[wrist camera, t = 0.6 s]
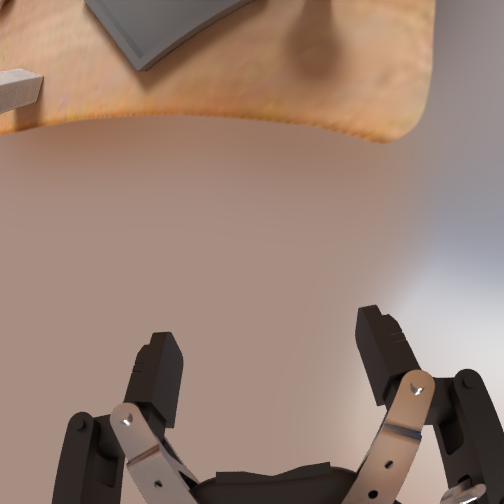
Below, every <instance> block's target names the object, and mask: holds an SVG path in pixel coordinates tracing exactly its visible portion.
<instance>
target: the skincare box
mask: <svg viewBox="0 0 504 504" xmlns="http://www.w3.org/2000/svg"><path fill="white" fill-rule="evenodd" d="M42 80H43V76H42V75H39V74H36V73H33V72H31V71H28V70H25V69H22V68H18V69H13V70H8V71H3V72H0V114H1V113H4V112H7V111H10V110H13V109H16V108H19V107H22V106H25V105H28V104H32V103H35V102H36V101H37V98H38V95H39V91H40V88H41V84H42Z"/></svg>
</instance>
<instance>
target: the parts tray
mask: <svg viewBox="0 0 504 504" xmlns="http://www.w3.org/2000/svg"><path fill="white" fill-rule="evenodd" d="M84 1H85V2H86V3H87V5H88V6H89V7H90V9H91V10H92V11H93V13H94V14H95V15H96V17H97V18H98V19H99V21H100V22H101V23H102V25H103V26H104V27H105V29H106V30H107V31H108V33H109V34H110V35H111V36H112V38H113V39H114V41H115V42H116V43H117V45H118V46H119V47H120V49H121V50H122V51H123V53H124V54H125V55H126V57H127V58H128V59H129V61H130V62H131V63H132V65H133V66H134V67H135V69H136V70H137V71H147V70H148V69H150V68H151V67H152V66H153V65H155V64H156V63H157V62H158V61H160V60H161V59H162V58H164V57H165V56H166V55H168V54H169V53H170V52H172V51H173V50H174V49H176V48H177V47H178V46H180V45H181V44H183V43H184V42H185V41H187V40H188V39H190V38H191V37H193V36H194V35H196V34H197V33H199V32H200V31H202V30H203V29H205V28H207V27H208V26H210V25H211V24H213V23H215V22H216V21H218V20H220V19H221V18H223V17H225V16H226V15H228V14H230V13H232V12H233V11H235V10H237V9H239V8H241V7H243V6H245V5H246V4H248V3H250V2H252V1H254V0H84Z"/></svg>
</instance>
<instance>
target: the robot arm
mask: <svg viewBox="0 0 504 504" xmlns="http://www.w3.org/2000/svg"><path fill="white" fill-rule="evenodd" d="M355 338H356V343H357V347H358V349H359V352H360V355H361V358H362V361H363V364H364V367H365V370H366V373H367V376H368V379H369V382H370V385H371V388H372V391H373V394H374V397H375V401H376V404H377V406H381V405H385V406H386V409H387V412H386V415H385V417H384V419H383V421H382V423H381V426H380V428H379V430H378V432H377V434H376V436H375V438H374V441H373V442H372V444H371V446H370V448H369V450H368V452H367V454H366V455H365V457H364V459H363V461H362V463H361V464H360V466H359V468H358V470H357V471H356V472H354V471H351V470H348V469H345V468H341V467H331V466H330V462H325V463H320V464H314V465H307V466H301V467H298V468H296V469H293V470H290V471H287V472H284V473H282V474H278V475H275V476H268V475H261V474H255V473H248V472H216V477H214V478H211V479H208V480H206V481H203V482H201V483H200V482H199V481H198V479H197V478H196V477H195V476H194V475H193V473H192V472H191V471H190V470H189V469H188V468H187V467H186V466H185V465H184V463H183V462H182V460H181V459H180V457H179V456H178V455H177V453H176V452H175V450H174V449H173V447H172V446H171V444H170V443H169V441H168V440H167V438H166V437H165V436H164V433H165V428H174V423H175V417H176V409H177V403H178V396H179V390H180V384H181V376H182V371H183V356H182V353H181V351H180V349H179V347H178V345H177V343H176V341H175V339H174V337H173V335H172V333H171V332H157V333H153V334H152V337H151V341H150V344H149V345H144V346H143V347H142V348H141V350H140V351H139V352H138V354H137V357H136V360H135V365H134V367H133V371H132V372H133V373H132V374H131V377H130V381H129V384H128V388H127V391H126V395H125V399H124V402H123V403H122V404H120V405H118V406H117V407H115V408H114V409H113V411H112V412H111V414H109V415H104V416H100V417H95V418H93V417H92V416H91V415H90V414H88V413H86V412H79V413H76V414H75V415H74V416H73V417H72V418H71V419H70V421H69V423H68V427H67V431H66V434H65V439H64V443H63V447H62V451H61V456H60V460H59V465H58V470H57V475H56V480H55V486H54V492H53V498H52V504H120V499H121V498H120V497H121V488H122V478H123V469H124V461H125V457H127V459H128V463H127V469H128V471H129V473H130V475H131V477H132V478H133V480H134V482H135V484H136V486H137V487H138V489H139V491H140V492H141V494H142V496H143V498H144V499H145V501H146V502H147V504H401V503H400V502H398V501H397V500H395V499H396V497H397V495H398V493H399V491H400V489H401V487H402V485H403V483H404V481H405V478H406V476H407V474H408V472H409V469H410V467H411V465H412V463H413V460H414V458H415V455H416V453H417V450H418V448H419V445H420V442H421V438H422V436H421V431H422V428H423V425H433V427H434V431H435V434H436V438H437V442H438V445H439V449H440V453H441V457H442V461H443V465H444V469H445V474H446V478H447V482H448V488H449V490H447V491H446V492H445V494H444V495H443V496H442V498H441V501H440V504H504V432H503V429H502V426H501V423H500V421H499V418H498V416H497V413H496V410H495V408H494V406H493V403H492V401H491V398H490V396H489V394H488V391H487V389H486V387H485V385H484V382H483V380H482V378H481V376H480V375H479V374H478V373H477V372H476V371H474V370H472V369H464V370H461V371H459V372H458V373H457V374H456V375H455V377H453V378H435V377H432V376H431V375H430V374H429V373H427V372H426V371H423V370H422V369H421V368H420V366H419V364H418V362H417V360H416V358H415V356H414V354H413V352H412V349H411V347H410V345H409V343H408V341H407V340H406V338H405V335H404V333H402V329H401V328H400V326H399V324H398V322H397V321H396V320H395V319H394V318H393V317H392V316H390V315H389V314H387V315H382V314H381V312H380V310H379V308H378V307H377V305H371V306H366V307H361V308H359V309H358V315H357V323H356V330H355Z"/></svg>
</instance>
